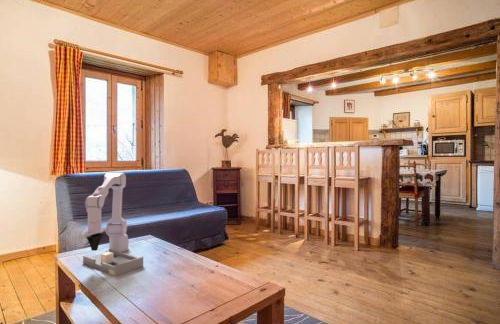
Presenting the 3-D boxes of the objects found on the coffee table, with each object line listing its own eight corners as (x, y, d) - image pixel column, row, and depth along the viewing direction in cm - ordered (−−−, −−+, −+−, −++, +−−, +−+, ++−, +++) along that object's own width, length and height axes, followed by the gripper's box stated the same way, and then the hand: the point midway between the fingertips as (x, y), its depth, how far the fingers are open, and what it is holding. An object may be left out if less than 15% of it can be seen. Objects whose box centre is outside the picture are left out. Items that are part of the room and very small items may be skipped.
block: (108, 259, 141) (108, 251, 141) (113, 261, 139) (113, 253, 139) (100, 262, 138) (100, 253, 138) (105, 263, 136) (105, 255, 136)
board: (110, 255, 154) (110, 246, 154) (143, 266, 138) (143, 256, 138) (83, 263, 142) (83, 253, 142) (115, 276, 127) (115, 265, 127)
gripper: (98, 217, 143) (98, 245, 143) (74, 223, 129) (74, 254, 129) (111, 218, 142) (110, 246, 142) (87, 224, 127) (87, 255, 127)
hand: (94, 250), depth 135 cm, fingers closed
